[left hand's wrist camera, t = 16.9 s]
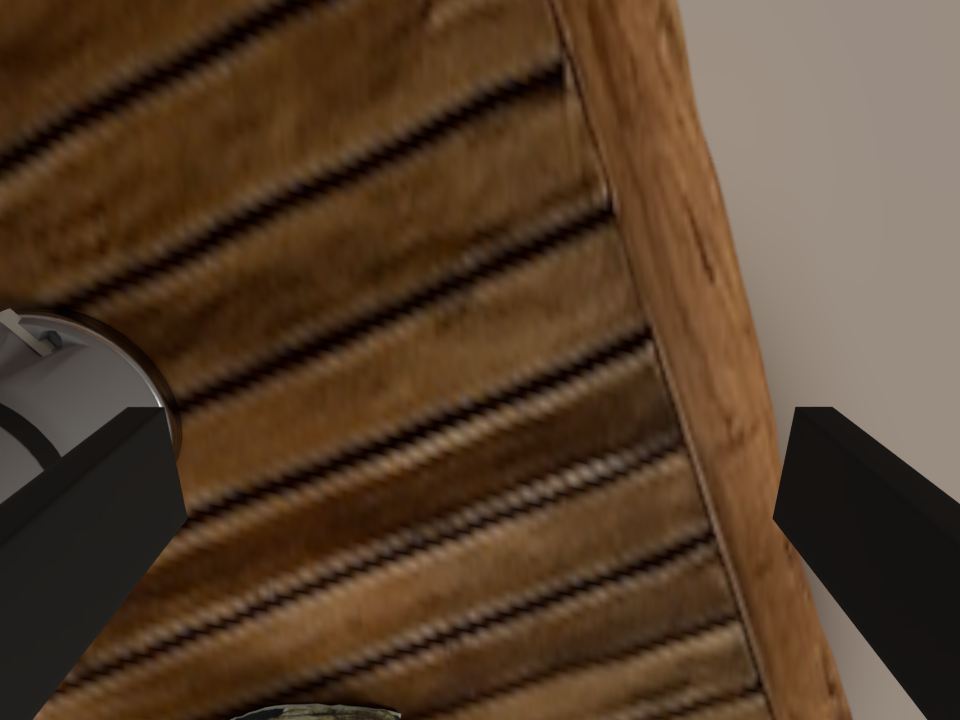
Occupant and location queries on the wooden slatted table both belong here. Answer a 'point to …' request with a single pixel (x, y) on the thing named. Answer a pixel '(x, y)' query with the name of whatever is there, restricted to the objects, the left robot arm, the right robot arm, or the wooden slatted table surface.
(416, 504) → the wooden slatted table surface
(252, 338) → the wooden slatted table surface
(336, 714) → the fossil
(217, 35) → the wooden slatted table surface
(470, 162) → the wooden slatted table surface
